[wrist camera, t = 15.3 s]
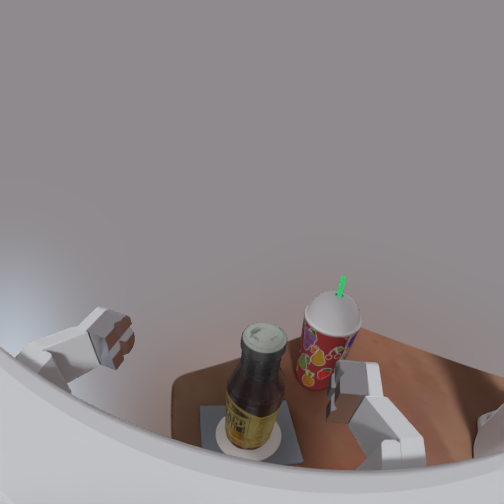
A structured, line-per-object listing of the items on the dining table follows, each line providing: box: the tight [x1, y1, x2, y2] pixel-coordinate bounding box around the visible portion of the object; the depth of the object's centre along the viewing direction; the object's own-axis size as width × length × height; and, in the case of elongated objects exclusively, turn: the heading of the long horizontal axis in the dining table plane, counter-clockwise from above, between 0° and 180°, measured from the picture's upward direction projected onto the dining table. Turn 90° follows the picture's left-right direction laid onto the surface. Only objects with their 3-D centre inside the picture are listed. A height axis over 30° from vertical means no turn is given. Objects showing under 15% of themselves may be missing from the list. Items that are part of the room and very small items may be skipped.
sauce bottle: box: [225, 322, 287, 450], centre depth 29 cm, size 7×6×20 cm
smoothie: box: [296, 276, 362, 390], centre depth 40 cm, size 8×8×20 cm
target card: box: [200, 400, 303, 465], centre depth 34 cm, size 13×11×1 cm
